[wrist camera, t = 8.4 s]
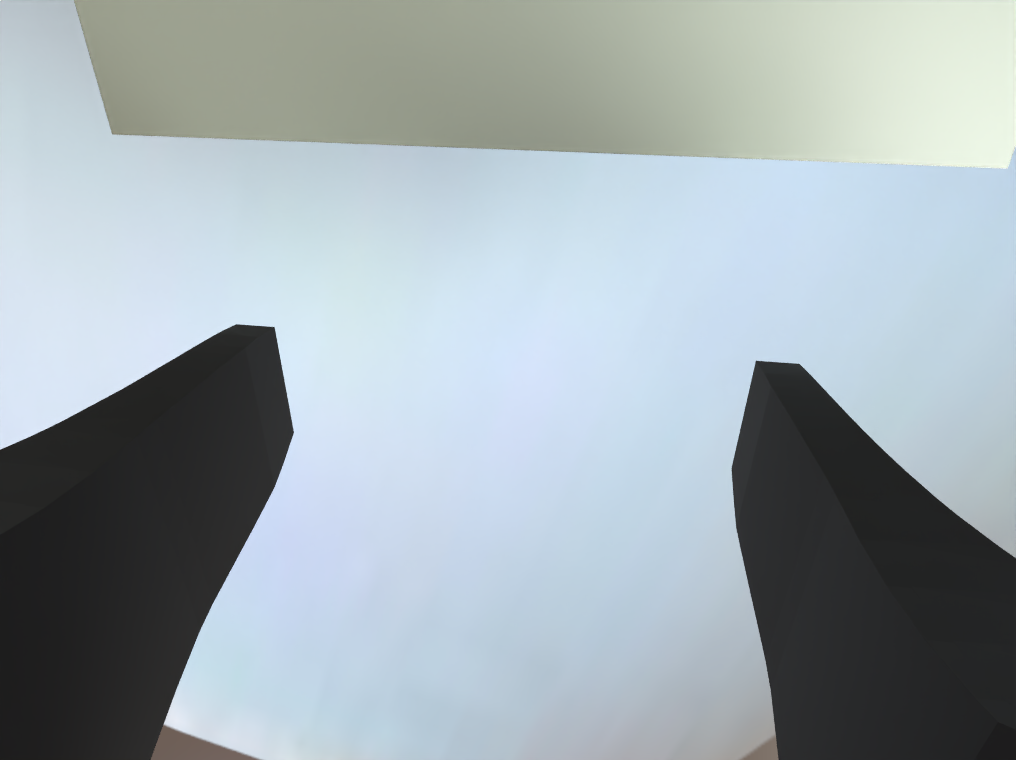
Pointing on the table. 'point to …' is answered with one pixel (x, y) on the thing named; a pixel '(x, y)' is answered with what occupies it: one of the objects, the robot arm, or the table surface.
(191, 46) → the cream flat block
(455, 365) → the table surface
